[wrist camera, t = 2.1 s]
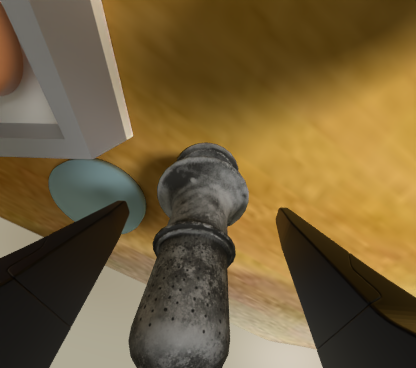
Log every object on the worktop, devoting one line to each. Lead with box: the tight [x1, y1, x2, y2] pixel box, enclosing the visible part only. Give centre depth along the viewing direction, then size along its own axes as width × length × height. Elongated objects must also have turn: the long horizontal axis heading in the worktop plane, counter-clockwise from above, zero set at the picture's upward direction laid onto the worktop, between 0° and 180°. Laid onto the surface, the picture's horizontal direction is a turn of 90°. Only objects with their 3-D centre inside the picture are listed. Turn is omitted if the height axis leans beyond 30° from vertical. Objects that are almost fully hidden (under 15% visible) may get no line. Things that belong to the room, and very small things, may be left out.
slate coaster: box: [49, 158, 146, 234], centre depth 15 cm, size 8×8×1 cm
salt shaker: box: [129, 143, 249, 368], centre depth 8 cm, size 6×6×12 cm
